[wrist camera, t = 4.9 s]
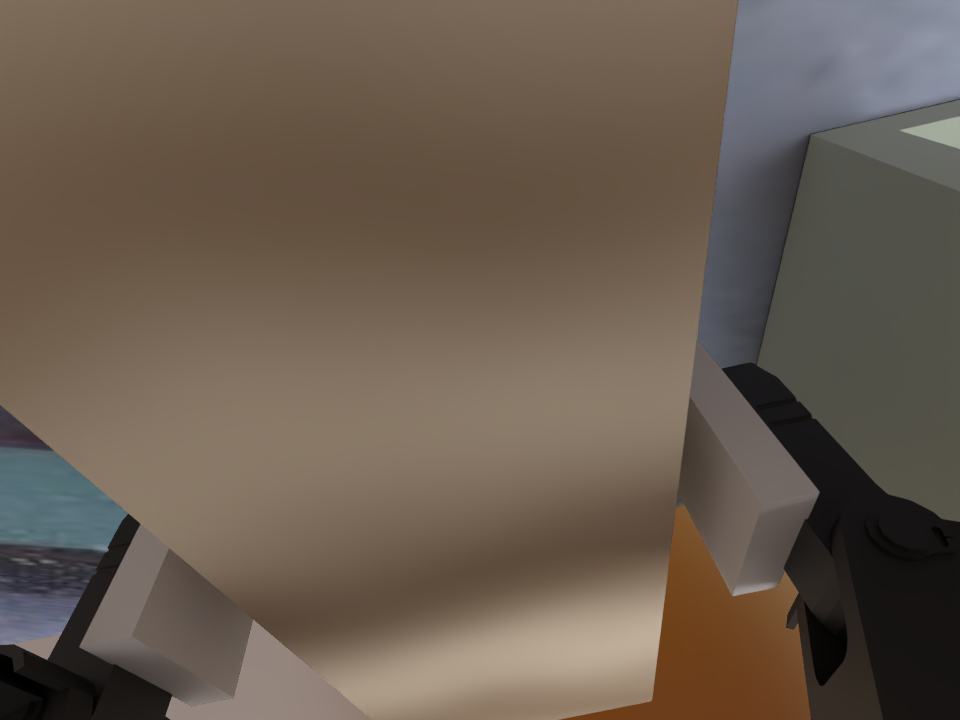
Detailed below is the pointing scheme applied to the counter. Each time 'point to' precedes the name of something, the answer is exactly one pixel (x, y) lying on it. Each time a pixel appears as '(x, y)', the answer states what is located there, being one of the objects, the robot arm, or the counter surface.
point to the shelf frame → (878, 300)
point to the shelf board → (376, 316)
